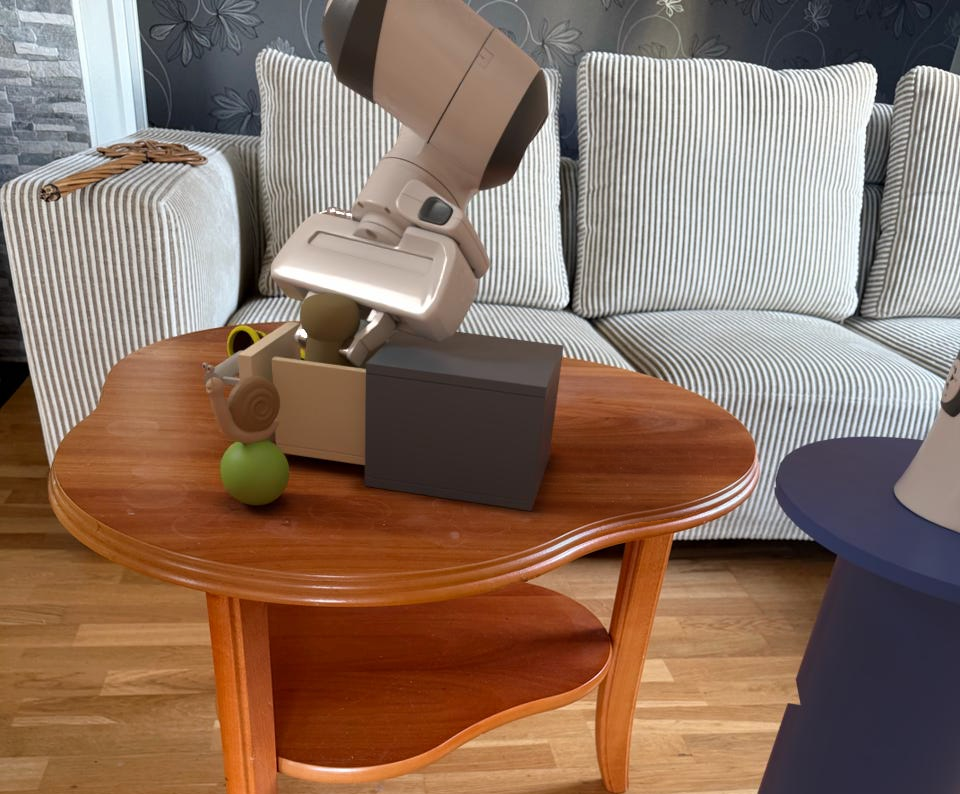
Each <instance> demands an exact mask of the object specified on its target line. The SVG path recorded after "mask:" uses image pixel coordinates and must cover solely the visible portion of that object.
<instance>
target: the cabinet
mask: <svg viewBox="0 0 960 794" xmlns="http://www.w3.org/2000/svg"><path fill="white" fill-rule="evenodd" d="M563 353H564V345H563V344H555V343H548V342H547V343H546V342H540V341H533V340H524V339H518V338H511V337H510V338H509V337H503V336H494V335H486V334H481V333H480V334H478V333H473V332H471V333H470V332H465V331H464V332H463V331H458V330H457V331H456V333H455V334H454V335H453V336H451V337H450V338H448V339H446V340H445V341H443V342H440V343H438V342H435V341H431V340H428V339H425V338H421V337H418V336H415V335H411V334H408V333H405V332H402V331H399V332H398V333H397V334H396V335H395V336H394V337H392V338H391V339H390V340H389V341H388V342H387V343H386V344H385V345H384V346H383V347H382V348H381V349H380V350H379V351H378V352H377V353H376V354H375V355H374V356H373V357H372V358H370V359H369V360H368V361H367V362H366V397H365V465H364V486H365V487H369V488H375V489H382V490H389V491H394V492H395V491H396V492H402V493H409V494H414V495H415V494H416V495H422V496H427V497H436V498H442V499H448V500H454V501H460V502H468V503H473V504H474V503H475V504H480V505H486V506H488V505H489V506H496V507H501V508H508V509H513V510H521V511H527V512H532V511H533V509H534V506H535V502H536V499H537V496H538V493H539V490H540V486H541V484H542V481H543V478H544V475H545V471H546V469H547V466H548V462H549V460H550V457H551V447H552V441H553V432H554V431H553V430H554V423H555V416H556V410H557V409H556V408H557V400H558V393H559V387H560V386H559V385H560V377H561V371H562V370H561V369H562V362H563Z"/></svg>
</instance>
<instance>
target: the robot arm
mask: <svg viewBox="0 0 960 794" xmlns="http://www.w3.org/2000/svg"><path fill="white" fill-rule="evenodd" d="M320 29H321V34H322V40H323V44H324V48H325V52H326V55H327V58H328V61H329V64H330V66H331V69H332V71H333V74H334V76H335V78H336V81H337V82H338V83H340V84H341V85H343V86H345V87H346V88H348V89H349V90H351V91H352V92H354V93H355V94H357V95H359V96H360V97H362V98H363V99H365V100H366V101H368V102H370V103H371V104H372V105H377V106H378V107H380V108H381V109H382V110H384V111H385V112H387V114H388V115H390V116H391V117H393V118H394V119H396V120H397V121H398V122H399V123H400V124H401V125H400V128H399V131H398V136H397V139H396V142H395V143H394V145H393V147H392V148H391V149H390V150H388V152H386V153H385V154H384V155H383V156H382V157H381V158H380V159H379V161H378V163H376V166H374V167H375V168H374V169H373V171H372V172H371V174H370V175H369V177H368V179H367V181H366V182H365V184H364V185H363V187H362V189H361V191H360V192H359V194H358V196H357V198H356V199H355V200H354V202H353V204H352V205H351V209H350V210H349V209H347V210H346V209H342V208H340V207H339V206H328V207H326V209H323V210H321V211H319V212H315V213H313V214H312V215H310V216H308V217H307V218H306V219H305V220H304V221H302V223H300V224H299V226H298V227H297V228H296V229H295V231H294V232H293V233H292V234H291V235H290V237H289V238H288V239H287V240H286V242H285V243H284V245H283V246H282V247H281V249H280V250H279V251H278V253H277V255H275V257H274V259H273V260H272V262H271V264H270V277H271V279H272V280H273V282H274V283H275V284H276V285H277V287H278V288H279V289H280V290H281V291H282V292H283V293H284V294H285V295H286V296H287V297H288V298H290V299H292V300H294V301H295V300H296V301H299V302H302V303H303V301H304V299H306V298H307V297H309V296H311V295H315V294H323V293H332V294H339V295H343V296H346V297H349V298H351V299H352V300H354V301H355V302H356V304H357V305H358V307H359V311H360V316H361V318H360V319H362V320H365V321H368V322H369V325H367V326H366V327H365V328H364V329H363V330H362V331H361V332H359V333H358V334H357V335H356V336H355V338H354V337H351V336H349V337H348V338H347V339H345V340H344V342H343V345H342V346H341V347H340V348H339V355H340V357H341V358H343V359H344V360H345V361H346V362H347V363H350V364H353V365H355V366H360V365H361V364H362V363H363V361H364V359H365V358H366V356H367V354H368V353H369V351H372V350H374V349H375V348H376V347H378V346H379V345H381V344H382V343H384V342H385V341H387V340H388V339H389V338H390V337H391V335H392V333H393V332H394V330H398V331H402V332H405V333H408V334H411V335H415V336H418V337H421V338H425V339H428V340H431V341H435V342H438V343H440V342H443V341H445V340H446V339H448V338H450V337H451V336H453V335H454V334H455V333H456V331H457V332H458V331H459V329H460V327H461V325H462V324H463V322H464V320H465V318H466V316H467V314H468V313H469V310H470V309H471V307H472V305H473V302H474V301H475V298H476V296H477V294H478V289H479V281H478V280H480V279H481V278H483V277H485V275H486V274H487V272H488V270H489V269H490V267H491V260H490V257H489V255H488V253H487V250H486V248H485V246H484V243H483V241H482V240H481V238H480V236H479V234H478V233H477V231H476V229H475V227H474V226H473V224H472V223H471V221H470V219H469V218H468V216H467V215H466V212H467V209H468V206H469V204H470V203H471V201H472V199H473V198H474V197H476V196H477V194H479V193H480V192H483V191H489V190H492V189H495V188H497V187H501V186H504V185H506V184H508V183H509V182H510V181H511V180H512V179H513V178H514V177H515V175H516V173H517V172H518V169H519V167H520V165H521V163H522V160H523V158H524V156H525V154H526V151H527V150H528V147H529V146H530V145H531V143H532V142H533V141H534V140H535V138H536V137H537V135H538V134H539V133H540V132H541V130H542V129H543V127H544V125H545V123H546V122H547V120H548V117H549V115H550V109H549V92H548V84H547V79H546V76H545V73H544V70H543V69H542V68H541V67H540V66H539V64H537V63H536V61H535V60H534V59H533V58H532V57H531V56H530V55H529V54H528V53H527V52H525V51H524V50H523V49H522V48H520V47H519V45H517V44H516V43H515V42H514V41H513V40H511V39H510V38H509V37H508V36H507V35H505V34H504V33H503V31H501V30H500V29H498V28H497V27H494V26H493V25H492V24H490V23H489V22H488V21H487V20H486V19H484V17H482V16H481V15H480V14H479V13H477V12H476V11H475V10H474V9H473V8H471V6H469V5H468V4H467V3H466V2H464V1H463V0H328V1H327V4H326V7H325V10H324V15H323V19H322V21H321V24H320ZM294 339H295V341H296V342H297V343H298V344H299V345H300V346H301V349H304V350H306V342H307V334H306V333H305V331H304V330H303V328H302V326H301V324H300V327H299V328H298V330H297V332H296V333H295V336H294ZM923 440H924V442H923V444H922V445H921V447H920V449H919V451H918V452H917V454H916V456H915V457H914V459H913V460H912V462H911V463H910V465H909V467H908V468H907V469H906V471H905V472H904V474H903V475H902V476H901V478H900V479H899V480H898V482H897V483H896V484H895V486H894V493H895V495H896V497H897V498H898V500H899V501H900V502H901V503H902V504H903V505H904V506H906V507H907V508H908V509H910V510H911V511H913V512H914V513H916V514H918V515H919V516H921V517H923V518H925V519H927V520H929V521H931V522H933V523H935V524H938V525H940V526H943V527H945V528H948V529H950V530H953V531H956V532H958V533H960V349H958V352H957V355H956V357H955V359H954V360H953V362H952V364H951V366H950V369H949V372H948V374H947V377H946V380H945V383H944V386H943V389H942V391H941V399H940V408H939V411H938V412H937V414H936V417H935V419H934V421H933V423H932V425H931V427H930V429H929V430H928V432H927V435H926V437H925V438H924V439H923Z"/></svg>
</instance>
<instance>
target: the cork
mask: <svg viewBox="0 0 960 794" xmlns="http://www.w3.org/2000/svg"><path fill="white" fill-rule="evenodd" d="M360 318H361V316H360V311H359V307H358V305H357V304H356V302H355V301H354V300H352V299H351V298H349V297H346V296H343V295H339V294H332V293H323V294H315V295H311V296H309V297H307V298H306V299H304V301H303V302H302V303H301V304H300V309H299V321H300V322H299V323H300V325H301V326H302V328H303V330H304V331H305V333H306V334H307V342H306V349H305V351H304V352H305V361H310V362H318V363H325V364H332V365H340V366H347V367H354V368H358V366H355V365H353V364H350V363H347V362H346V361H345V360H344V359H343V358H341V357H340V355H339V348H340V347H341V346H342V345H343V342H344V340H345V339H347V338H348V337H349V336H351V337H354V336H355V335H356V333H357V332H358V331H359V327H360Z"/></svg>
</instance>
